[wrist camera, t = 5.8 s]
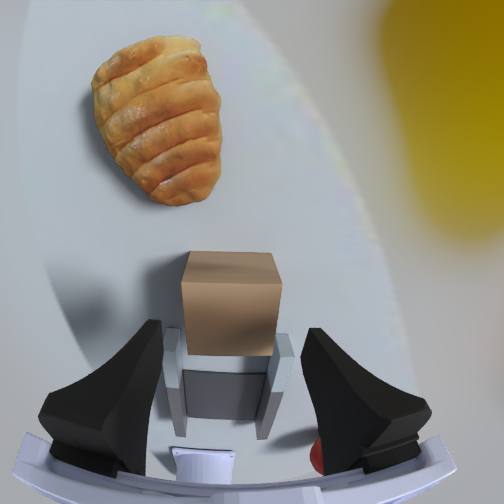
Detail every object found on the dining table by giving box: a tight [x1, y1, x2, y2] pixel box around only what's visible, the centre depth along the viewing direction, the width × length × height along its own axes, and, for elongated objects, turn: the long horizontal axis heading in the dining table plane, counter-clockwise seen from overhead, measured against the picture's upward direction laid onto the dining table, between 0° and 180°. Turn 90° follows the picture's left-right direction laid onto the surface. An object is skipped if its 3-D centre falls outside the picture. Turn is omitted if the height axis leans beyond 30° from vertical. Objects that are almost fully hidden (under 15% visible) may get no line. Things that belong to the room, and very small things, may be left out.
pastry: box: [91, 35, 222, 206], centre depth 12 cm, size 9×7×4 cm
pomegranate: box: [310, 437, 324, 475], centre depth 24 cm, size 6×6×8 cm
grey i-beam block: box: [162, 328, 295, 440], centre depth 21 cm, size 12×9×2 cm
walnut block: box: [181, 251, 282, 356], centre depth 16 cm, size 5×5×4 cm
